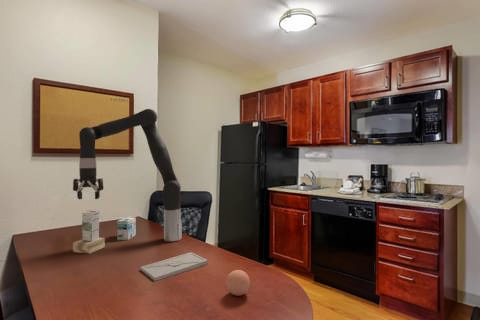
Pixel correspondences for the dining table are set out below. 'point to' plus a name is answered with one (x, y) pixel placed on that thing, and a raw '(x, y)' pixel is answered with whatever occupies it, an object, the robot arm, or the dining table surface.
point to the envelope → (173, 266)
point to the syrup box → (90, 225)
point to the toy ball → (238, 282)
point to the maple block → (88, 245)
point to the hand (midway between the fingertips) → (88, 199)
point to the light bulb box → (126, 228)
